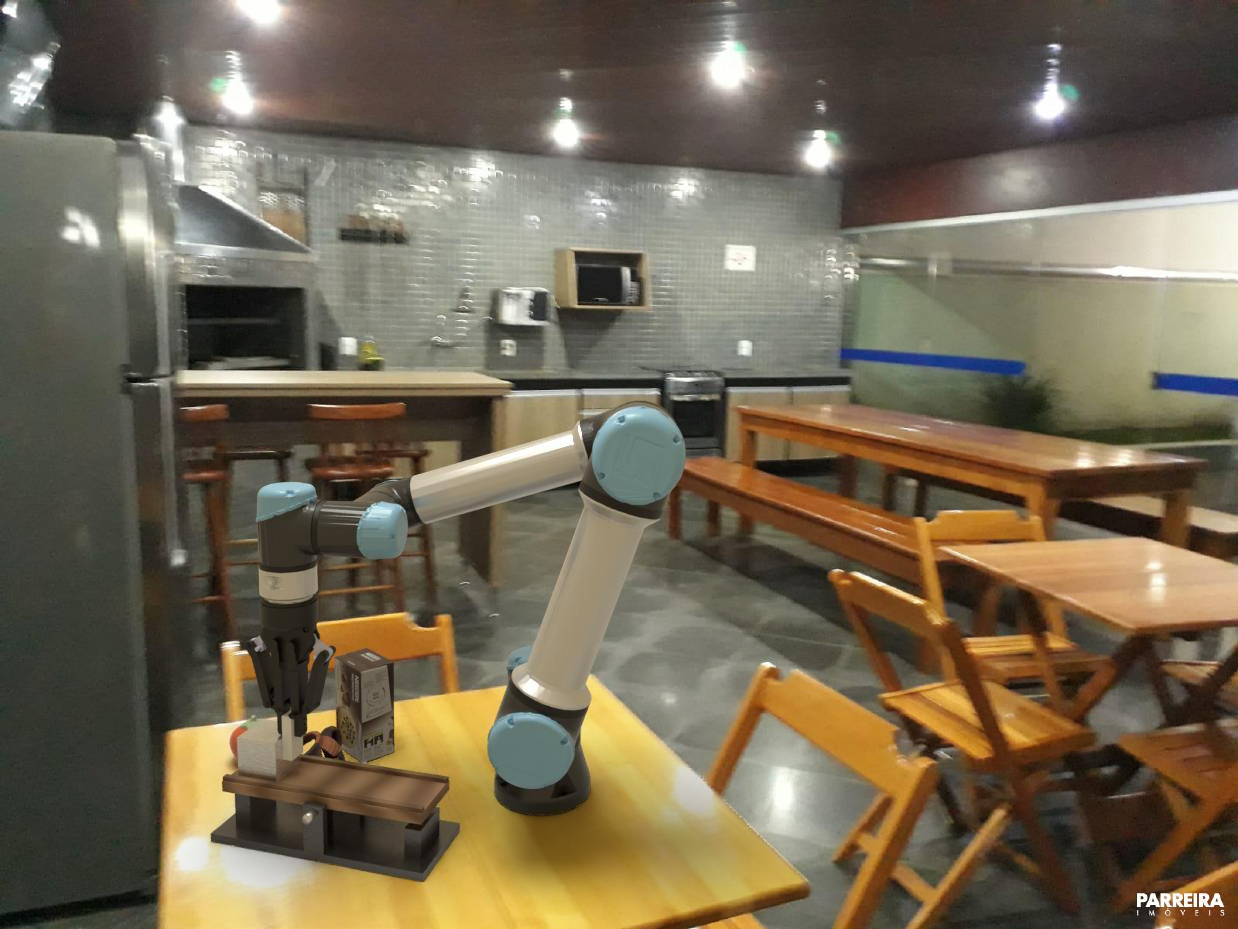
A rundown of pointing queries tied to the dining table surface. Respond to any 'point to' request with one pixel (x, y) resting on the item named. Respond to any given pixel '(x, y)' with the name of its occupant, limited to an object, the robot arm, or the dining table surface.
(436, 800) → the seesaw beam
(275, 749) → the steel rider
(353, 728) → the coffee box
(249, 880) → the dining table surface
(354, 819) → the pivot stand
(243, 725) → the tomato
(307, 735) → the brown spiky open ring
